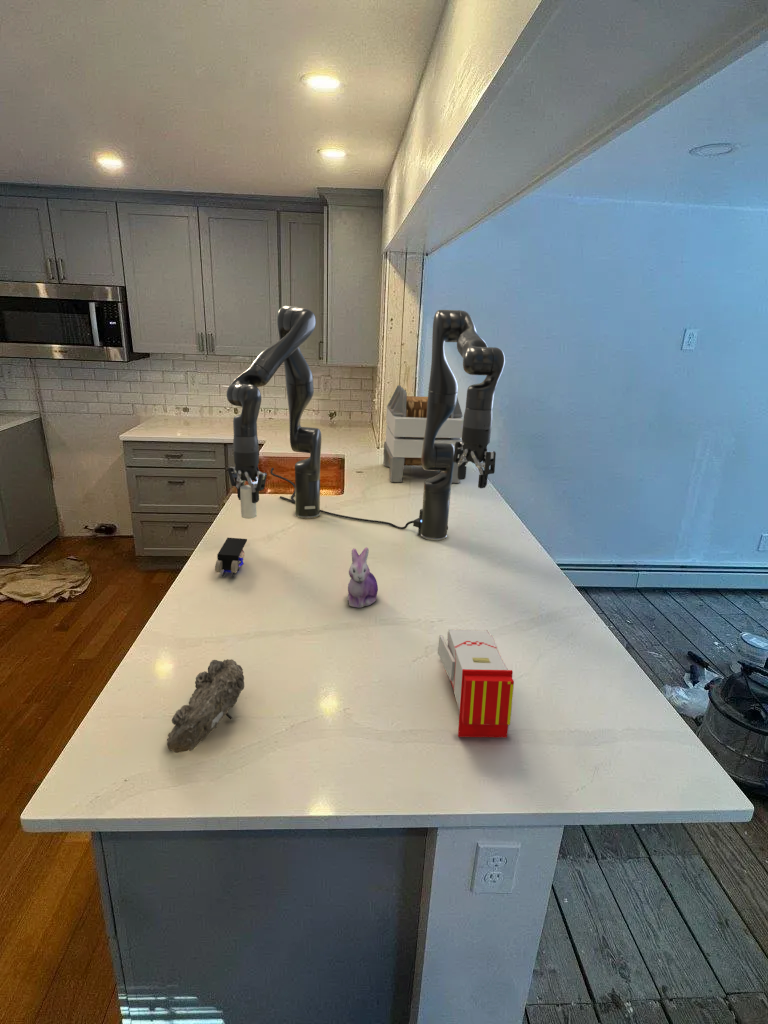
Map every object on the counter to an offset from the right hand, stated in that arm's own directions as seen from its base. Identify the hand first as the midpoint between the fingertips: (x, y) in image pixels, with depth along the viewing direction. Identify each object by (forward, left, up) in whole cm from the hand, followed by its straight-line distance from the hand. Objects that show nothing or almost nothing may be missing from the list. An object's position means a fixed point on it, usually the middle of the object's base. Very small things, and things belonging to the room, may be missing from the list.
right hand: (471, 483), depth 156 cm
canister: (-67, -21, -21) cm, 73 cm away
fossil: (-10, -82, -30) cm, 88 cm away
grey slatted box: (-72, +91, -30) cm, 120 cm away
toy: (+25, -44, -30) cm, 59 cm away
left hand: (-67, -21, -15) cm, 72 cm away
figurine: (-16, -27, -30) cm, 44 cm away
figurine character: (-57, -37, -30) cm, 74 cm away
